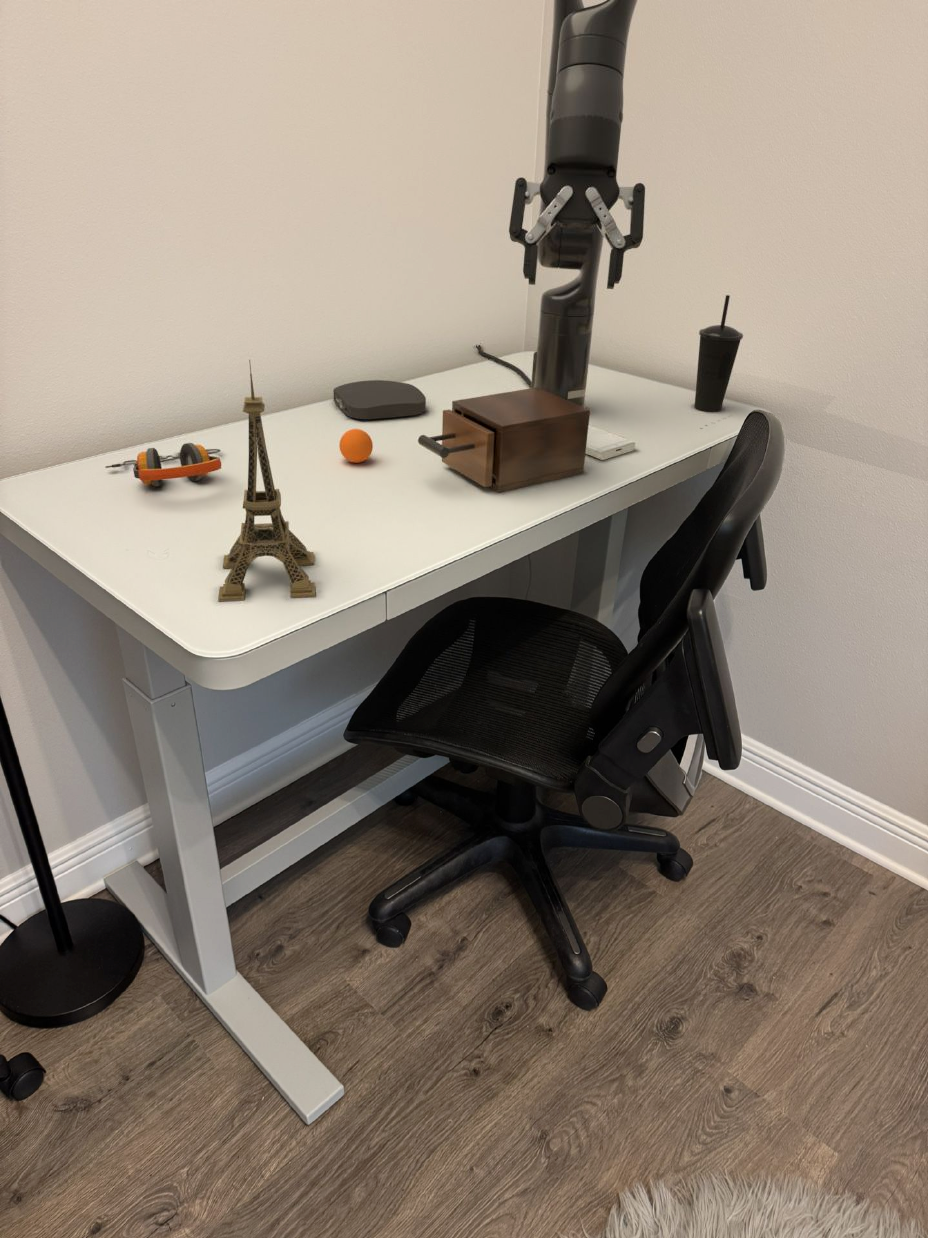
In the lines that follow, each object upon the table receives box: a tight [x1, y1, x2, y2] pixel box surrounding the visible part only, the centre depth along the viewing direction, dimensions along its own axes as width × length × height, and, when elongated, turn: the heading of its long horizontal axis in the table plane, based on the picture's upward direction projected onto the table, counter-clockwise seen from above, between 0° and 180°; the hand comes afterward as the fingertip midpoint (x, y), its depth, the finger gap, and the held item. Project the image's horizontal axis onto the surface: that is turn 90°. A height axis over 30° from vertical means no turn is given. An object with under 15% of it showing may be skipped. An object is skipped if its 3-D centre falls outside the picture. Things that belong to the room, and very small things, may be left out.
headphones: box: [104, 442, 222, 488], centre depth 126 cm, size 17×5×20 cm
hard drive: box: [585, 424, 636, 461], centre depth 146 cm, size 2×8×12 cm
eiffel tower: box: [217, 359, 316, 602], centre depth 97 cm, size 11×11×25 cm
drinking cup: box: [694, 294, 744, 413], centre depth 161 cm, size 8×8×20 cm
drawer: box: [417, 409, 498, 488], centre depth 131 cm, size 20×12×8 cm, turn 123°
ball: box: [339, 428, 374, 464], centre depth 135 cm, size 5×5×5 cm
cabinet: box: [451, 387, 591, 493], centre depth 133 cm, size 16×13×10 cm
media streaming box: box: [333, 379, 427, 420], centre depth 159 cm, size 15×15×3 cm
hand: (570, 285), depth 97 cm, fingers open, 8 cm apart
